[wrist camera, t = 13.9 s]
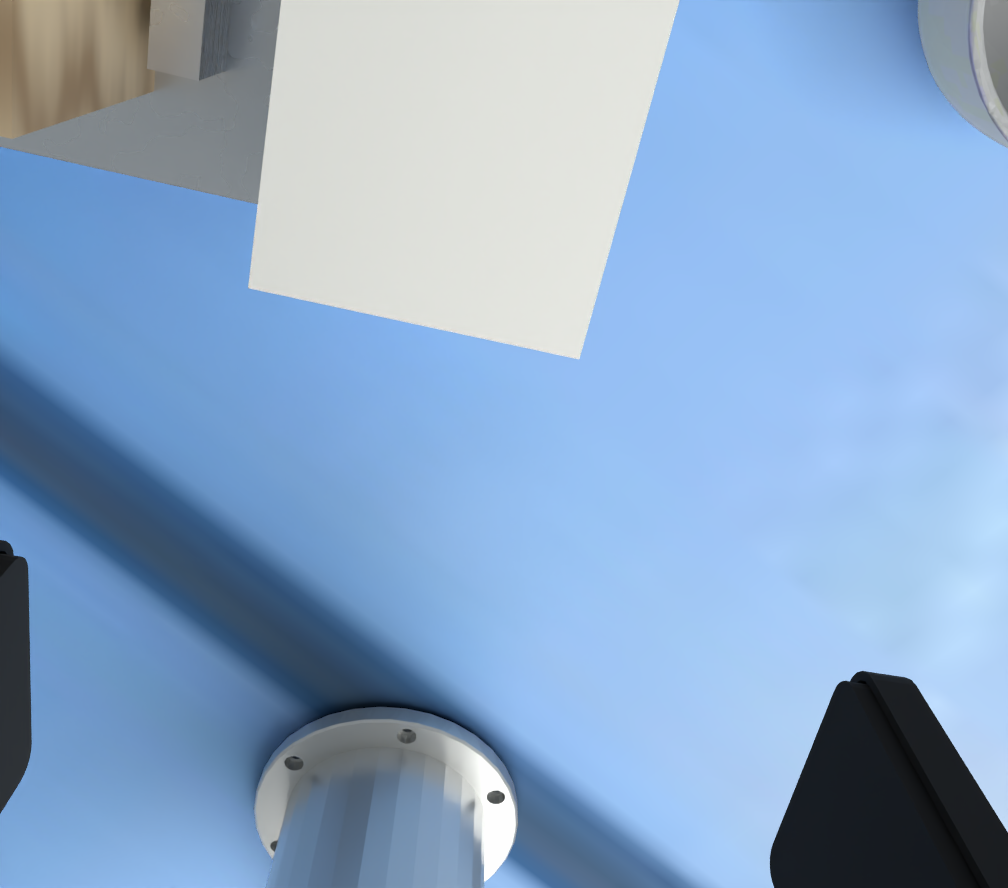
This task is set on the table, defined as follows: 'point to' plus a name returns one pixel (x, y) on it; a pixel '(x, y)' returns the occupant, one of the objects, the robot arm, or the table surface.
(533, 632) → the table surface
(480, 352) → the table surface
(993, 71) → the teacup
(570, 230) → the cabinet
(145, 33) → the door
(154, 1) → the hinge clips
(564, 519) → the table surface
